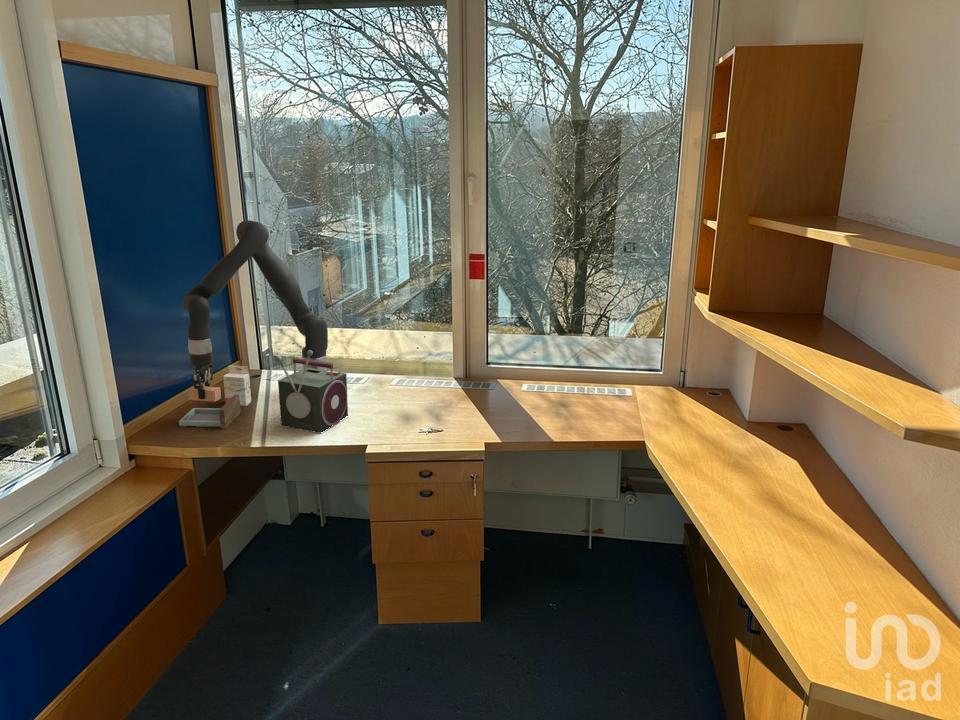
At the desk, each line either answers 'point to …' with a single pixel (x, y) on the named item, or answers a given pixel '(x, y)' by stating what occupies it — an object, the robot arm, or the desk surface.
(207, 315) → the robot arm
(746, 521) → the desk surface
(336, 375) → the boombox
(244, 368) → the ink cartridge box
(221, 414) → the board
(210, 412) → the tray
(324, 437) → the desk surface
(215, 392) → the bar
